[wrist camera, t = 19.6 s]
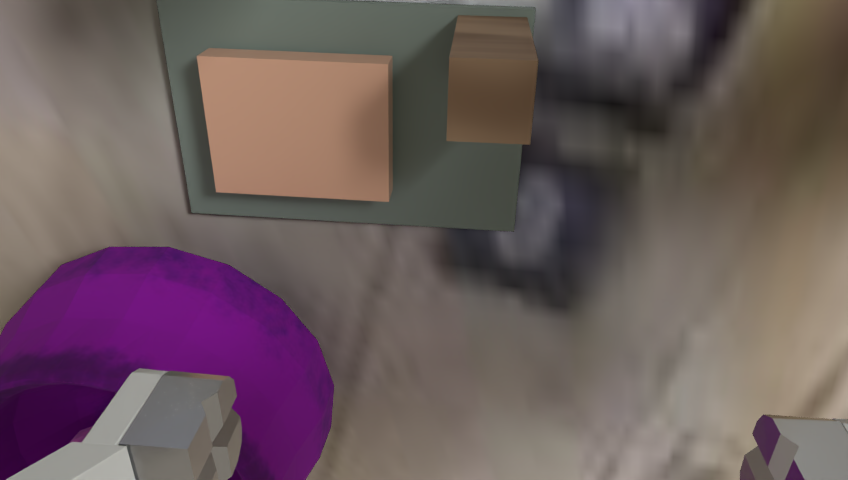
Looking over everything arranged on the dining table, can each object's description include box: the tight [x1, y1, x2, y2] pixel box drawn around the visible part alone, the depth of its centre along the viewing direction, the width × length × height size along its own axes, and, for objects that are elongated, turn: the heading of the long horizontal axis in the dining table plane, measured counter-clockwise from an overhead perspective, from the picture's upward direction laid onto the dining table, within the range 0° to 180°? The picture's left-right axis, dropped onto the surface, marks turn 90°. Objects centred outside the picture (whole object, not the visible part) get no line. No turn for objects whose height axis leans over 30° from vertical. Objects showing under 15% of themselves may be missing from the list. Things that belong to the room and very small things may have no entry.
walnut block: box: [446, 15, 538, 145], centre depth 28 cm, size 3×3×8 cm
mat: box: [156, 0, 536, 232], centre depth 34 cm, size 18×12×1 cm, turn 89°
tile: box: [197, 48, 393, 202], centre depth 33 cm, size 2×7×9 cm
